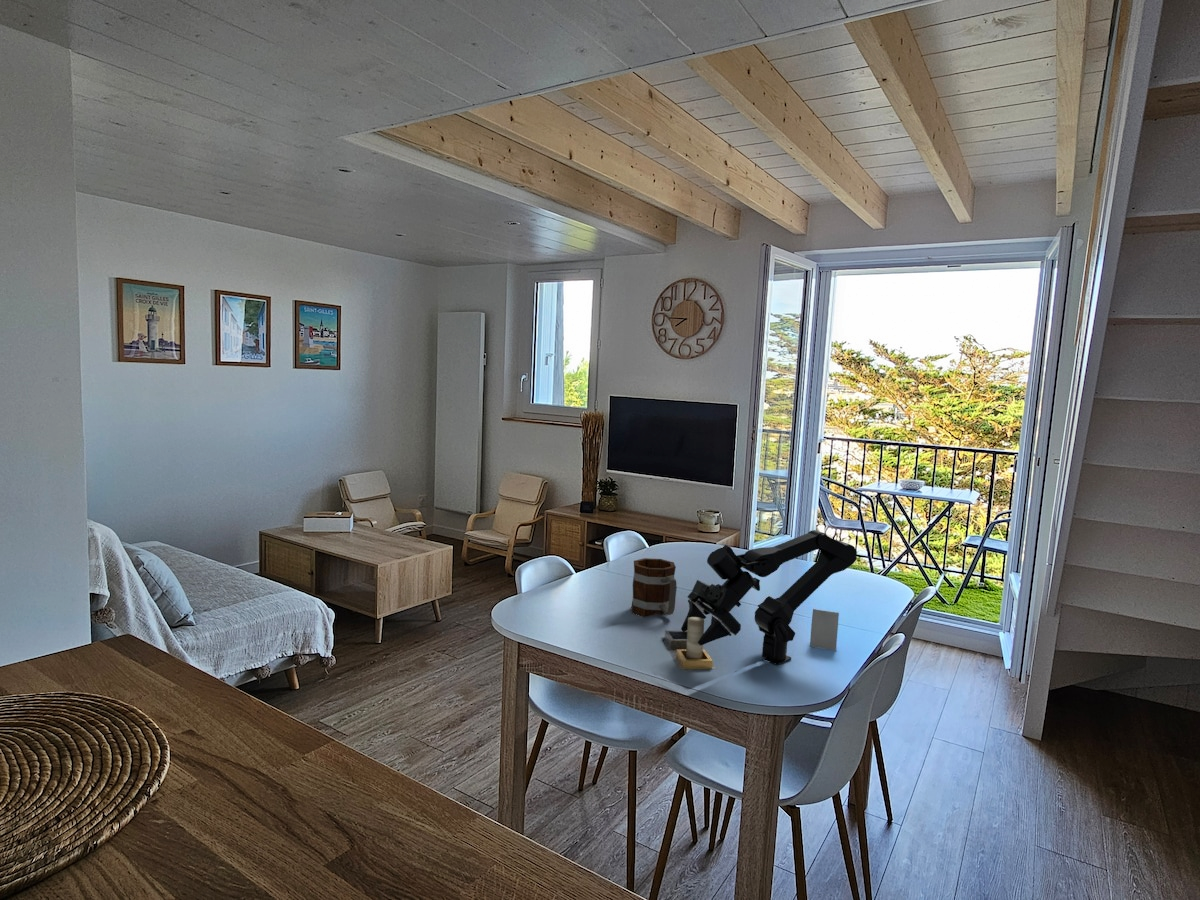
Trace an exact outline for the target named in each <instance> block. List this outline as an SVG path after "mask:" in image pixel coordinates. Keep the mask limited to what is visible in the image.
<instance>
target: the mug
mask: <svg viewBox="0 0 1200 900" xmlns="http://www.w3.org/2000/svg"><path fill="white" fill-rule="evenodd" d="M676 568H677V566H676V564H675V562H674V561H670V560H666V559H662V558H649V557H648V558H646V557H644V558H641V559H636V560H635V559H634V560H633V579H632V601H631V602H632V603H631V606H630V607H631V608H632V609H631V613H632V614H633V613H634V614H633V615H636V614H637V615H636V616H638V615H639V616H638V617H641V616H642V617H641V618H646V617H651V616H655V615H666V616H669V615H670V616H671V615H673V614H674V612H675V609H676V608H675V607H676V598H677V597H676V596H677V588H678V587H677V580H676V578H675V573H676Z"/></svg>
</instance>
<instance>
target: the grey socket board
mask: <svg viewBox="0 0 1200 900" xmlns="http://www.w3.org/2000/svg"><path fill="white" fill-rule="evenodd" d="M660 638H661V640H662V642H663V643H664V646H665V647H666V648H667V650H668V651H669V653H670V655H671V657H672V658H673V660H674V662H675V663H676V665H677V667H678V669H679V670H681V671H682V670H717V668H716V667H715V665H714V664H713V659H712V658H711V656H710V654H709V653H708V652H707V651H706V650H705V648H703V655H702V659H692V660H686V649H687V631H685V632H683V631H682V630H664V637H660Z"/></svg>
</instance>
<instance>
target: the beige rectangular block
mask: <svg viewBox="0 0 1200 900" xmlns="http://www.w3.org/2000/svg"><path fill="white" fill-rule="evenodd" d="M811 614H812V616H811V617H812V619H811V627H810V639H809V647H811V646H812V647H811V648H817V649H824V650H829V651H835V652H836V651H837V646H838V645H837V642H838V631H839V629H838V628H839V619H840V618H839V616H840V612H839V611H830V610H823V609H817V608H813V609H812V613H811Z"/></svg>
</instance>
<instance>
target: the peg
mask: <svg viewBox="0 0 1200 900" xmlns="http://www.w3.org/2000/svg"><path fill="white" fill-rule="evenodd" d="M704 633H705V619H703V618H699V617H690V618H688V629H687V649H686V660H692V659H702V655H703V649H704V645H699V644H698V641H699V639H700V638H701V636H702V635H703V634H704Z"/></svg>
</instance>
